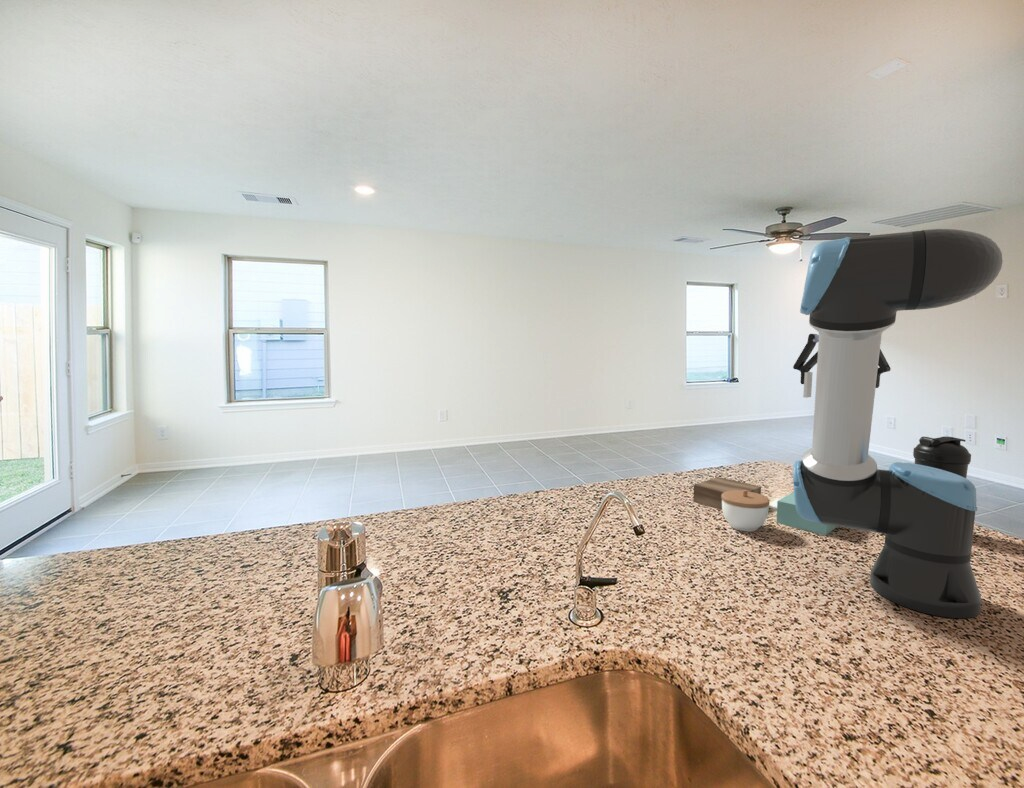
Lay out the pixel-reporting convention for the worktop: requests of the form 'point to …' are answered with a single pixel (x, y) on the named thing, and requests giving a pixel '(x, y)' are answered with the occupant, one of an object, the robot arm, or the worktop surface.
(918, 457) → the water bottle
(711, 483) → the walnut base
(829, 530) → the teal brick
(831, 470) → the robot arm
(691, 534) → the worktop surface
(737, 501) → the lidded jar
